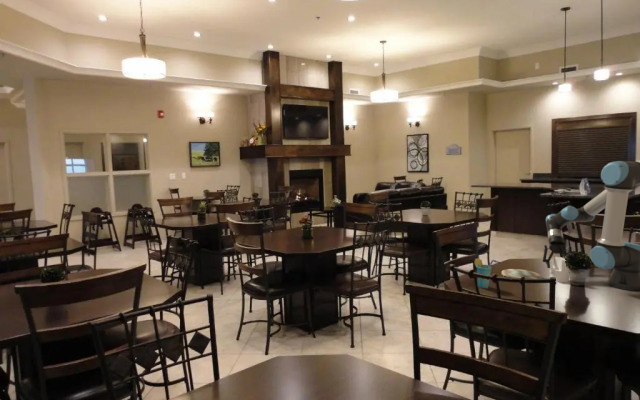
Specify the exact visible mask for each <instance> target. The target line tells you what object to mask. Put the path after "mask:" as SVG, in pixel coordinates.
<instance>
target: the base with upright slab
mask: <svg viewBox="0 0 640 400" xmlns="http://www.w3.org/2000/svg"><path fill="white" fill-rule="evenodd" d="M565 261H566V260H565V258H564V257H563V256H562V257H561V256H556V255H555V256H554V255H553V264H552V270H553V272H552V274H550V273H549V278H550V277H556V278H557V283H569V281H570V272H569V270H568V269H569V268H568V266H567V267H566V264H565Z"/></svg>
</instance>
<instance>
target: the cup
mask: <svg viewBox="0 0 640 400" xmlns="http://www.w3.org/2000/svg"><path fill="white" fill-rule="evenodd" d="M473 262H474V266H475V267H476V274H477V273H479V274H483V275H489V276H490V277H491V273H492V265H493V263H497V264H500V263H501V262H500V261H498V260H495V259H492V260H491V261H490V263H489V265H488V264H483V261H482V259H480V258H479V257H477V258H475V259H474V261H473ZM476 278H477V277H476ZM489 284H490V279H489V280H487V279H482V278H477V287H478V288H479V289H489Z"/></svg>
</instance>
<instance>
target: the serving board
mask: <svg viewBox="0 0 640 400" xmlns="http://www.w3.org/2000/svg"><path fill="white" fill-rule="evenodd" d="M502 275H503V276H502ZM501 276H502V277H504V276H506V277H511V278H521V277H525V278H528V279H541V280H542V274H540V273H538V272H536V271H532V270H527V269H518V268H516V269H515V268H507V269H503V270H501ZM506 277H505V278H506Z"/></svg>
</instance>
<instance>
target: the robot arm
mask: <svg viewBox="0 0 640 400" xmlns="http://www.w3.org/2000/svg"><path fill="white" fill-rule="evenodd" d="M600 172H601V173H600V179H601V180H602V183H604V190H602V192H600V193H598V195H596V196H595V197H593V198H592V199H591V200H589V201H588V202H587V203H586V204H585V205H583V206H581V207H580V208H576V207H575V206H572V205H567V206H566V207H564V208H563V209H561V210H560V211H559V212H558V213H551V214H548V215H547V216H546V217H545V225H546V231H547V238H548V245H546V244H544V246H543V256H542V262H543V263H545V264H546V267H547V269H548V270H549V275H550V274H552V272H553V270H552V267H553V264H552V261H551V259H552V258H553V257H554V254H555V255H556V254H558V255H561V256H562V258H564V259H565V256H566V255H569V253H572V252H573V251H572V249H573V248H572V247H571V246H569V247H567V246H566V245H565V241H564V240H565V239H564V235H563V229H562V228H563V227H565V226H566V225H568V224H569V223H588V222H592V221H594V220H595V218H596V215H598V214H599V213H600V212H602V211H603V210H604V215H603V216H604V217H603V221H602V222H603V223H602V229H601V235H600V238H598V239H597V241H596V245H595V246H594V247H593V248H591V250H590V251H589V257H590V259H591V262H592V263H593V264H594V266H595V267H597V268H599V269H602V270H612V272H611V274H610V276H609V278H608V282H607V284H608V285H609V286H611V287H613V288H617V289H620V290H625V289H628V290H627V291H634V290H639V289H640V244H639V243H633V242H629V241H623V240H622V239H623V233H624V227H625V220H626V215H627V214H626V213H627V206H628V200H629V193H630V192H632V191H634V190H635V191H636V189H637V188H639V187H640V162H639V161H629V160H628V161H626V160H625V161H622V160H617V161H611V162H608V163H607V164H606V165H605V166H603V168H602V170H601V171H600ZM548 250H550V251H551V252H550V254H549V256H548V255H547V254H548ZM567 253H568V254H567ZM547 256H548V258H547ZM639 291H640V290H639Z"/></svg>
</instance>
